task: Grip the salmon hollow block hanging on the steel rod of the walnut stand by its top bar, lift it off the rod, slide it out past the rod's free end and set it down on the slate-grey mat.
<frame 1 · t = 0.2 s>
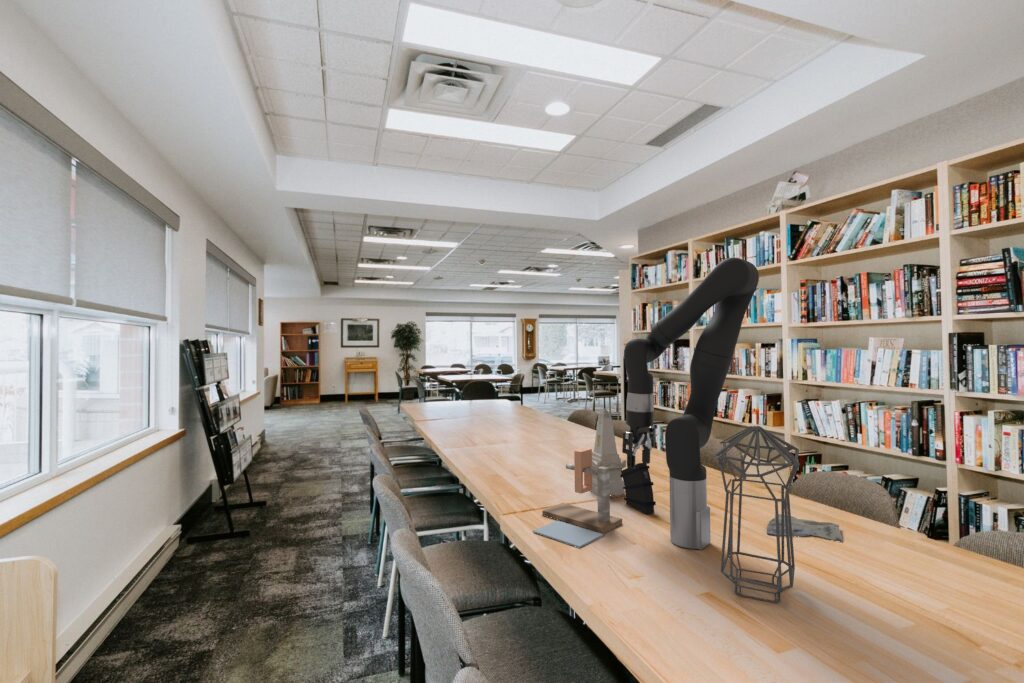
hand: (638, 465, 138), 18 cm above the table, tool pointing down, fingers open, 8 cm apart
salmon hollow block: (583, 490, 146), point 9 cm above the table, touching stand
mat: (567, 534, 135), on the table
stand: (581, 519, 146), on the table
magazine: (637, 508, 157), on the table
fossil rock: (803, 533, 136), on the table
geometric lantern: (758, 593, 102), on the table
miniature monument: (605, 492, 174), on the table
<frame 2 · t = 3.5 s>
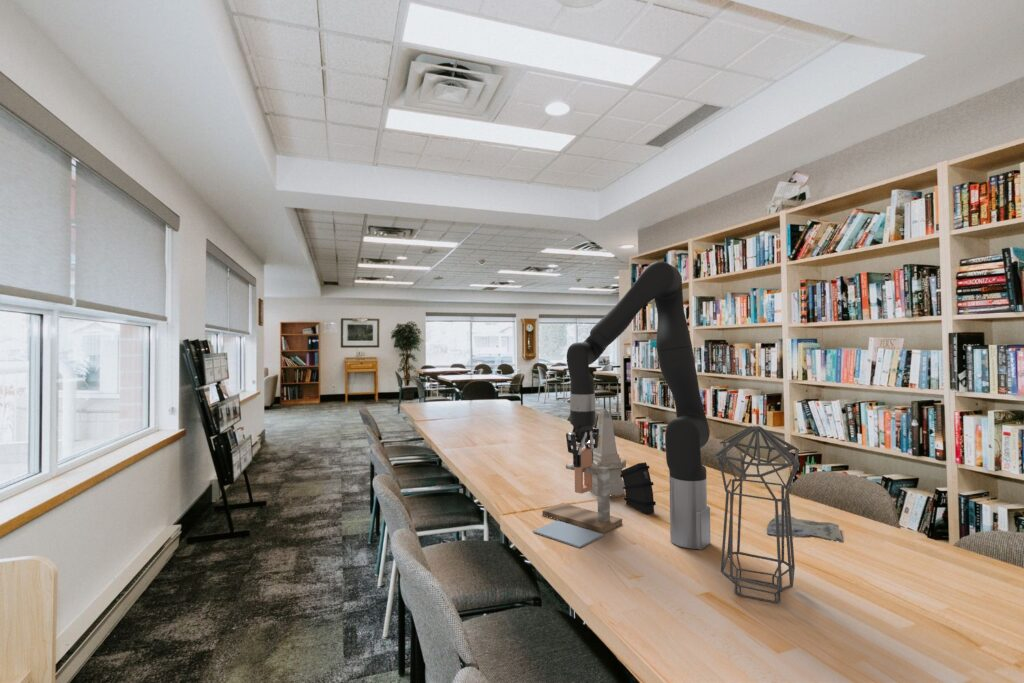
hand: (583, 464, 146), 17 cm above the table, tool pointing down, fingers closed on salmon hollow block, 5 cm apart
salmon hollow block: (583, 490, 146), point 9 cm above the table, touching gripper, stand
everything else where it was.
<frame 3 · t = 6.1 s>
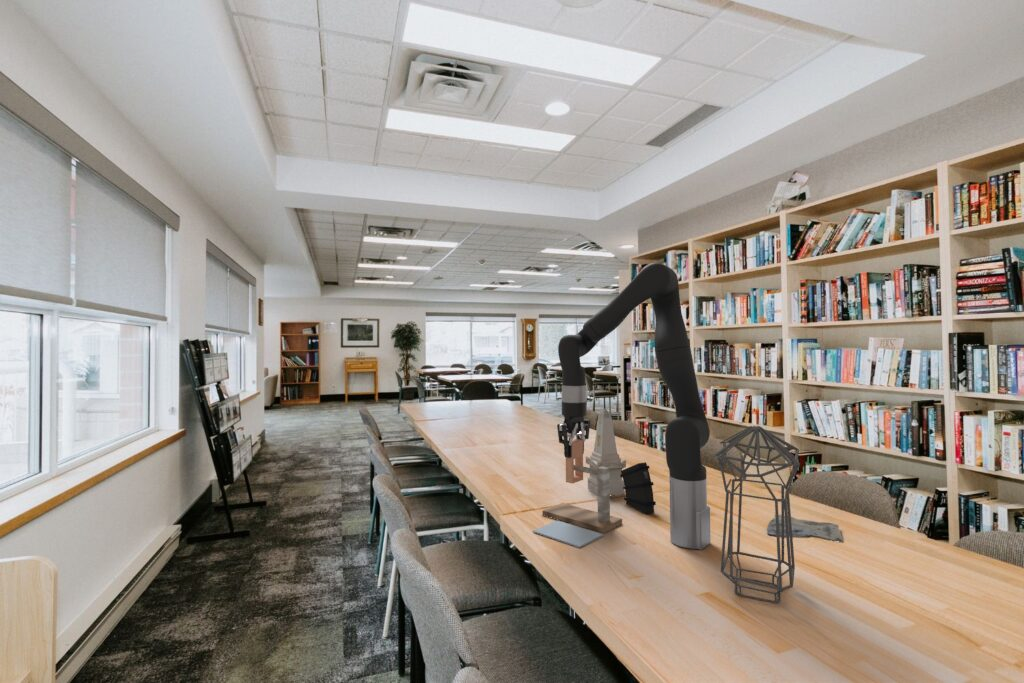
hand: (574, 455, 148), 19 cm above the table, tool pointing down, fingers closed on salmon hollow block, 5 cm apart
salmon hollow block: (574, 480, 148), point 11 cm above the table, touching gripper
everything else where it was.
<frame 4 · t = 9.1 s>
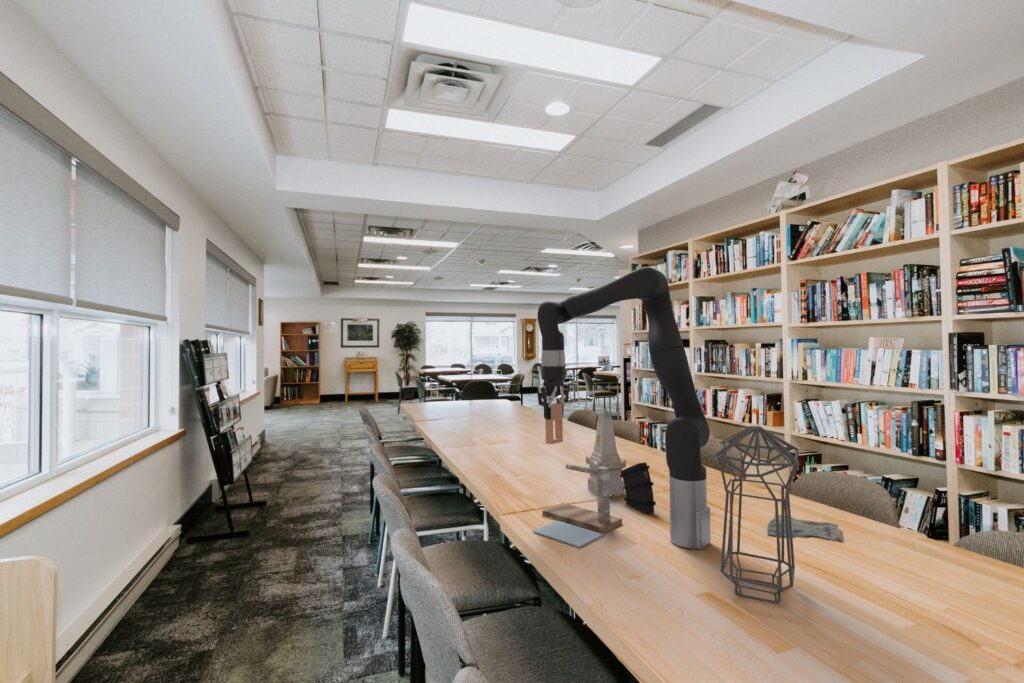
hand: (554, 417, 154), 30 cm above the table, tool pointing down, fingers closed on salmon hollow block, 5 cm apart
salmon hollow block: (554, 442, 153), point 22 cm above the table, touching gripper
everything else where it was.
when the fingers open (10 cm above the table, at t = 15.5 s): salmon hollow block drops 1 cm, resting on mat.
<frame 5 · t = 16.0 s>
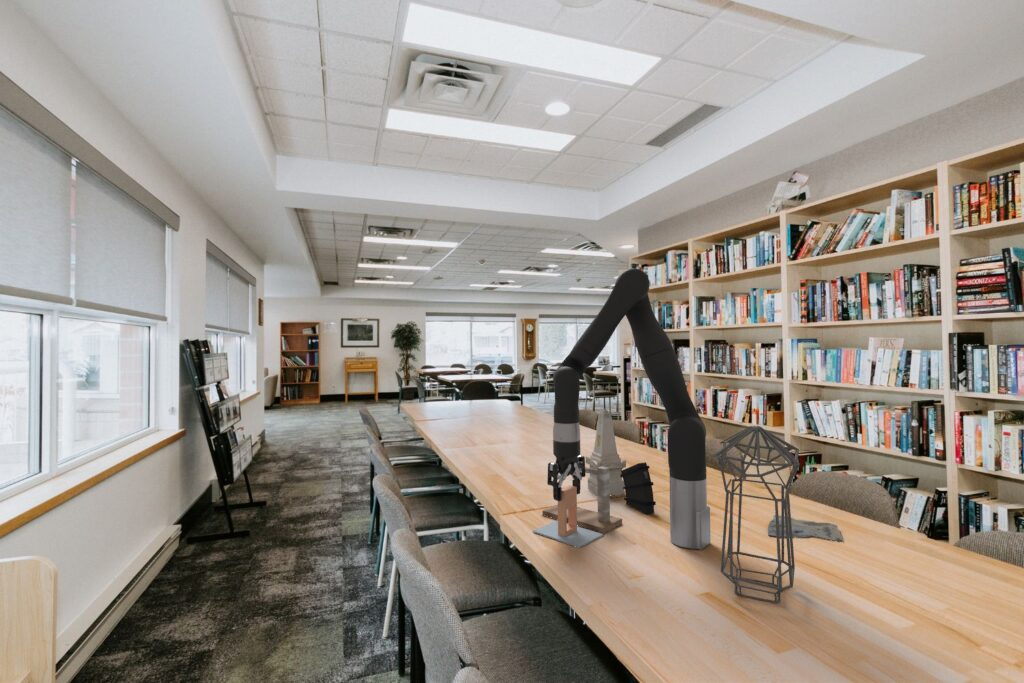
hand: (567, 496, 135), 10 cm above the table, tool pointing down, fingers open, 8 cm apart
salmon hollow block: (567, 532, 135), resting on mat
everything else where it was.
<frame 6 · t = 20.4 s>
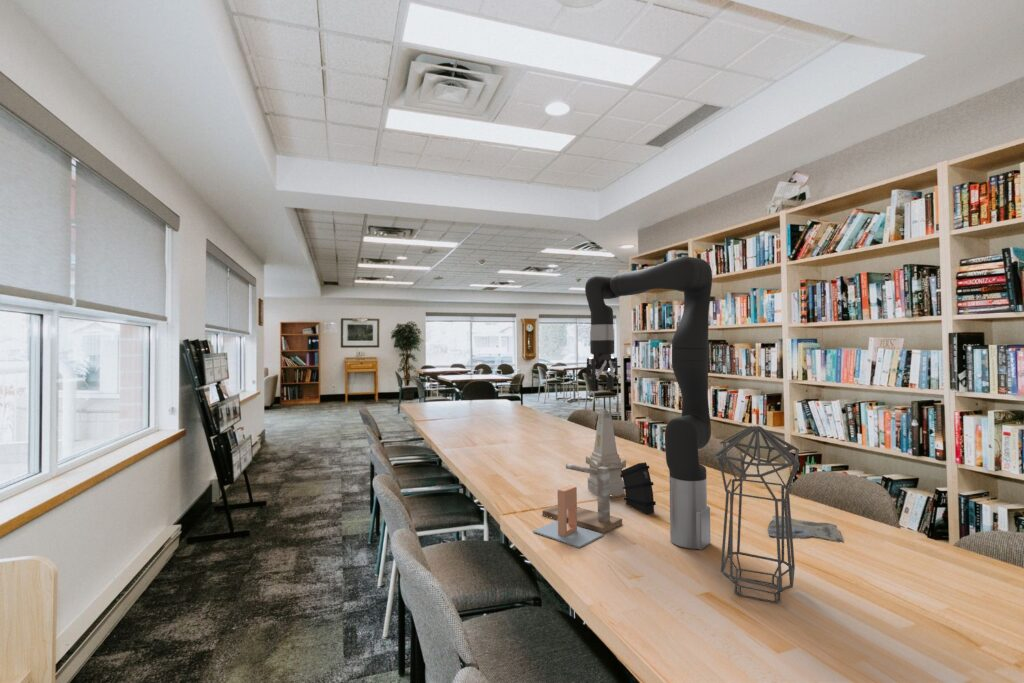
hand: (602, 390, 154), 38 cm above the table, tool pointing down, fingers open, 8 cm apart
nothing on the table moved.
at the end: salmon hollow block inside the target area on the mat (0.0 cm from its centre), point 0.5 cm above the mat's base; the gripper is holding nothing; salmon hollow block moved 14.9 cm from its start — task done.
